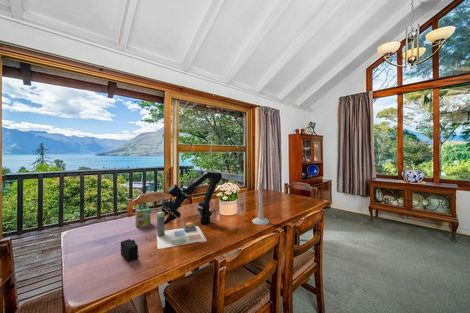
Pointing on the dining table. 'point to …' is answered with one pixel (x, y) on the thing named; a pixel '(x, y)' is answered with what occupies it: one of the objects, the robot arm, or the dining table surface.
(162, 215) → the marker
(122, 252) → the digital camera
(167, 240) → the colouring board
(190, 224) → the button
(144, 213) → the chalk box
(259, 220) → the candlestick
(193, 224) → the button housing
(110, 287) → the dining table surface
